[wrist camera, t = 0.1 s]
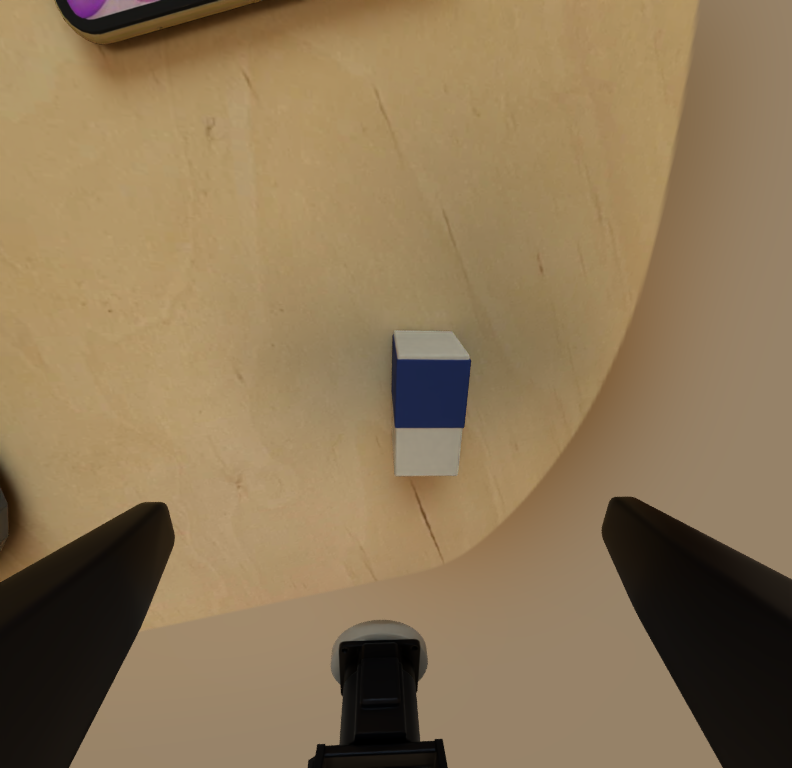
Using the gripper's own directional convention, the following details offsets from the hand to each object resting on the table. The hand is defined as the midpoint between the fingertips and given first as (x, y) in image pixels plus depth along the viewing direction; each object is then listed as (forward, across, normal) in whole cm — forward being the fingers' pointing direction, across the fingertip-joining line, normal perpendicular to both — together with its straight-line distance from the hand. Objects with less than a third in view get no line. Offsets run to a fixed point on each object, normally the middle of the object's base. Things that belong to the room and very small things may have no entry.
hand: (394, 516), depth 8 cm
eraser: (+13, -2, +2) cm, 13 cm away
